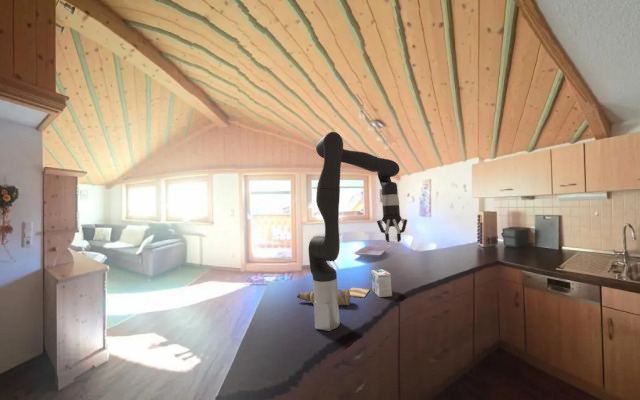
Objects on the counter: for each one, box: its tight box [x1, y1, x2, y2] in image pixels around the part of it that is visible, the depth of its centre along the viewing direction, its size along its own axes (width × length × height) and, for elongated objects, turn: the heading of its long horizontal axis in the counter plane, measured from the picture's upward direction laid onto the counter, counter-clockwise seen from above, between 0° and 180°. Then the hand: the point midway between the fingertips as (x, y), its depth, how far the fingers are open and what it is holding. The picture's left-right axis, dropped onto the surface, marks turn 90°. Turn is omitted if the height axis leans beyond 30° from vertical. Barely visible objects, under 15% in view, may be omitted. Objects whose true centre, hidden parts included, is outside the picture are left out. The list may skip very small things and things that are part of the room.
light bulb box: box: [370, 268, 393, 298], centre depth 120 cm, size 11×7×11 cm, turn 6°
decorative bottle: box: [296, 289, 351, 307], centre depth 111 cm, size 26×8×7 cm, turn 73°
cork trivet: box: [348, 287, 371, 299], centre depth 122 cm, size 12×10×1 cm
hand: (393, 241), depth 109 cm, fingers open, 4 cm apart
